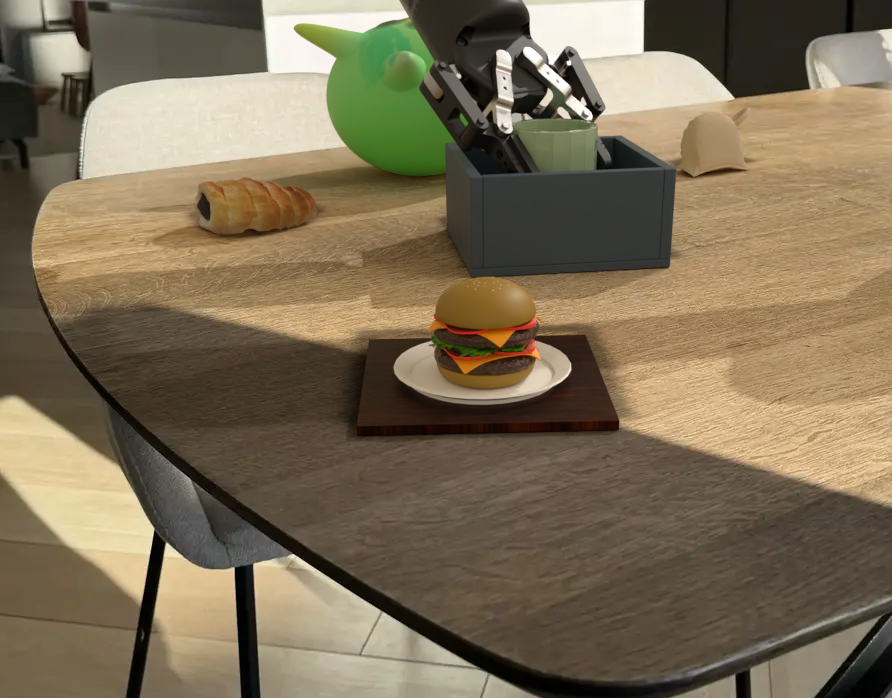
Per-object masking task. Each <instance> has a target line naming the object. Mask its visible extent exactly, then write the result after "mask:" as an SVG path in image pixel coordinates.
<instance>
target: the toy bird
mask: <svg viewBox="0 0 892 698" xmlns="http://www.w3.org/2000/svg"><path fill="white" fill-rule="evenodd" d="M293 30H294V32H295V33H296V34H297V35H298V36H299V37H301V38H303V39H304V40H305V41H307V42H309V43H310V44H313V45H314V46H316V47H317V48H319V49H320V50H322V51H323V52H325V53H328V54H329V55H331V56H332V57H333V58H334V59H335V60H334V62H333V64H332V66H331V69H330V72H329V75H328V79H327V83H326V91H325V93H326V95H325V99H326V108H327V113H328V116H329V119H330V121H331V124H332V126H333V128H334V130H335V132H336V134H337V136H338V137H339V138H340V140H341V141H342V143H343V144H344V145H345V146H346V147H347V148H348V149H349V150H350V151H351V152H352V153H353V154H354V155H356V156H357V157H358V158H359V159H361V160H362V161H364V162H365V163H367V164H369V165H371V166H373V167H375V168H378V169H379V170H382V171H384V172H387V173H390V174H391V173H392V174H396V175H400V176H408V177H409V176H411V177H428V176H429V177H430V176H438V175H444V174H446V163H445V143H446V142H455V141H454V139H453V138H452V136H451V135H450V133H449V132H448V131H447V129H446V128H445V126H444V125H443V123H442V122H441V120H440V119H439V118H438V116H437V115H436V113H435V112H434V110H433V109H432V107H431V106H430V105H429V103H428V102H427V100H426V99H425V97H424V96H423V94H422V93H421V91H420V90H419V85H420V84H421V82H422V81H423V79H424V77H425V76H426V74H427V73H428V71H429V69H430V68H431V66H432V64H433V63H434V59H433V57H432V56H431V54H430V52H429V51H428V49H427V47H426V45H425V44H424V42H423V40H422V39H421V37H420V35H419V34H418V32H417V30H416V28H415V27H414V25H413V23H412V21H411V20H410V18H409V16H407V17H405V18H400V19H391V20H388V21H384V22H381V23H379V24H377V25H376V26H374V27H372V28H369V29H368V30H366V31H364V32H360V31H353V30H348V29H342V28H338V27H332V26H327V25H322V24H315V23H307V22H304V23H301V22H300V23H297V24H295V25H294V26H293ZM460 119H461V121H462V122H463V124H464V125H465V127H466V126H467V125H468V122H467V121H466V119H465V118H464V116H463V115H462V113H461V114H460ZM455 143H456V142H455Z"/></svg>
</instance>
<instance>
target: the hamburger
mask: <svg viewBox="0 0 892 698" xmlns="http://www.w3.org/2000/svg"><path fill="white" fill-rule="evenodd" d="M536 314H537V308H536V304H535V302H534V300H533V298H532V296H531V295H530V294H529V292H528V291H527V290H525V289H524V288H523V287H521V286H520V285H518V284H516V283H514V282H513V281H510V280H508V279H505V278H501V277H497V276H491V277H472V278H468V279H465V280H462V281H459V282H457V283H454V284H451V286H449V287H448V288H446V289H445V290H444V291H443V292H442V293H441V295H440V296H439V298H438V299H437V302H436V305H435V310H434V314H433V321H432V323H431V325H430V326H429V328H428V331H427V332H428V334H431V333H432V336H431V337H411V338H409V337H408V338H404V337H403V338H369V339H368V344H367V351H366V359H365V364H364V373H363V380H362V385H361V394H360V401H359V408H358V413H357V421H356V436H393V435H396V436H397V435H437V434H440V435H441V434H443V435H444V434H483V433H484V434H485V433H490V434H491V433H528V432H529V433H531V432H573V431H574V432H576V431H577V432H579V431H581V432H583V431H619V430H620V418H619V415H618V412H617V411H616V408H615V406H614V403H613V401H612V397H611V395H610V393H609V391H608V388H607V385H606V383H605V380H604V378H603V375H602V373H601V370H600V368H599V365H598V363H597V360H596V358H595V355H594V352H593V350H592V348H591V347H592V346H591V344H590V342H589V340H588V338H587V334H559V335H558V334H551V335H550V334H549V335H548V334H547V335H537V333H538V331H539V329H540V324H541V323H543V320H542V318H540V317H539V316H537V315H536ZM538 321H539V322H540V324H539V322H538Z"/></svg>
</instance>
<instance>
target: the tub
mask: <svg viewBox="0 0 892 698" xmlns="http://www.w3.org/2000/svg"><path fill="white" fill-rule="evenodd" d="M512 125H513V131H512V133H511V135H516V134H518V136H519V138H520V139H521V141H522V142H523V144H524V146H525V147H526V149H527V151H528V152H529V154H530V156H531V157H532V159H533V161H534V162H535V164H536V166H537V167H538V169H539V171H540V172H561V171H585V170H596V162H597V136H599V134H598V133H599V125H598V124H597V123H595V121H594V122H590V121H585V120H577V119H571V118H564V119H562V118H545V119H532V118H529V119H521V120H517V121H512Z"/></svg>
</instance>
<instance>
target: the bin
mask: <svg viewBox="0 0 892 698" xmlns="http://www.w3.org/2000/svg"><path fill="white" fill-rule="evenodd" d="M598 136H599V138H600V139H601V141H602V143H603V144H604V146H605V149H607V151H608V152H609V154H610V157H611V161H612V167H611V169H608V170H585V171H561V172H538V173H515V174H502V172H501V171H500V169H499V168H498V166H497V164H496V163H495V161H494V159H493V157H492V156H489V155H487V154H485V153H484V152H483V151H482V149H479V148H474V147H473V148H472V150H471V151H468V152H467V151H463V150H462V149H460V148H459V146H458V145H457V144H456V143H455V142H446V143H445V163H446V173H445V205H446V206H445V208H446V210H445V211H446V216H445V217H446V231H447V232H448V234H449V235H450V239H451V240H452V242H453V244H454V246H455V248H456V250H457V251H458V253H459V256H460V257H461V260H462V261H463V263H464V265H465V267H466V269H467V271H468V273H469V275H470V277H471V278H478V277H510V276H527V275H528V276H529V275H548V274H564V273H583V272H603V271H621V270H639V269H640V270H641V269H642V270H643V269H661V268H670V267H671V256H672V243H673V241H672V240H673V229H674V228H673V227H674V226H673V225H674V213H675V212H674V211H675V197H676V185H677V184H676V182H677V181H676V180H677V168H675V167H674V166H672V165H671V164H669V163H667V161H664V160H662V159H660V157H658V156H656V155H654V154H653V153H651V152H649V151H648V150H646V149H644V148H643V147H641V146H640V145H638V144H637V143H635V142H633V141H631V140H629V139H628V138H627V137H625V136H624V135H598Z"/></svg>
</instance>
